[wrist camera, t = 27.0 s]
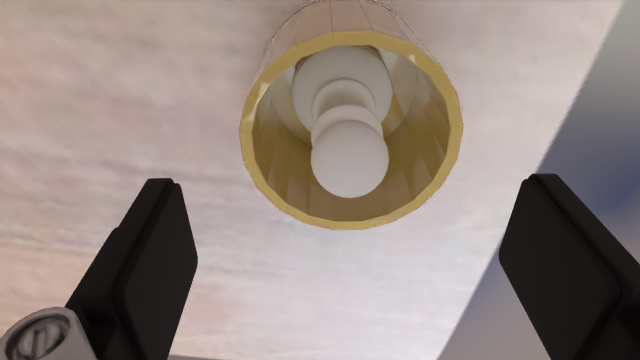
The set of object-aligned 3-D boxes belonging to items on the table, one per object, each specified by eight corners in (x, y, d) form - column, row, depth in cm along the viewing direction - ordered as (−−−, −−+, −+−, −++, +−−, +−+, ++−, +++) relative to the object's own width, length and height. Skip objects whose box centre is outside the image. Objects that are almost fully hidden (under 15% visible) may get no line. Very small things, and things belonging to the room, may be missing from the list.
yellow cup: (233, 102, 22) (201, 169, 16) (322, -44, 18) (323, -26, 12) (357, 177, 25) (368, 257, 19) (457, 63, 21) (510, 119, 15)
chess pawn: (387, 126, 22) (422, 233, 15) (297, 131, 22) (285, 239, 15) (390, 32, 20) (434, 104, 12) (287, 39, 20) (267, 114, 12)
